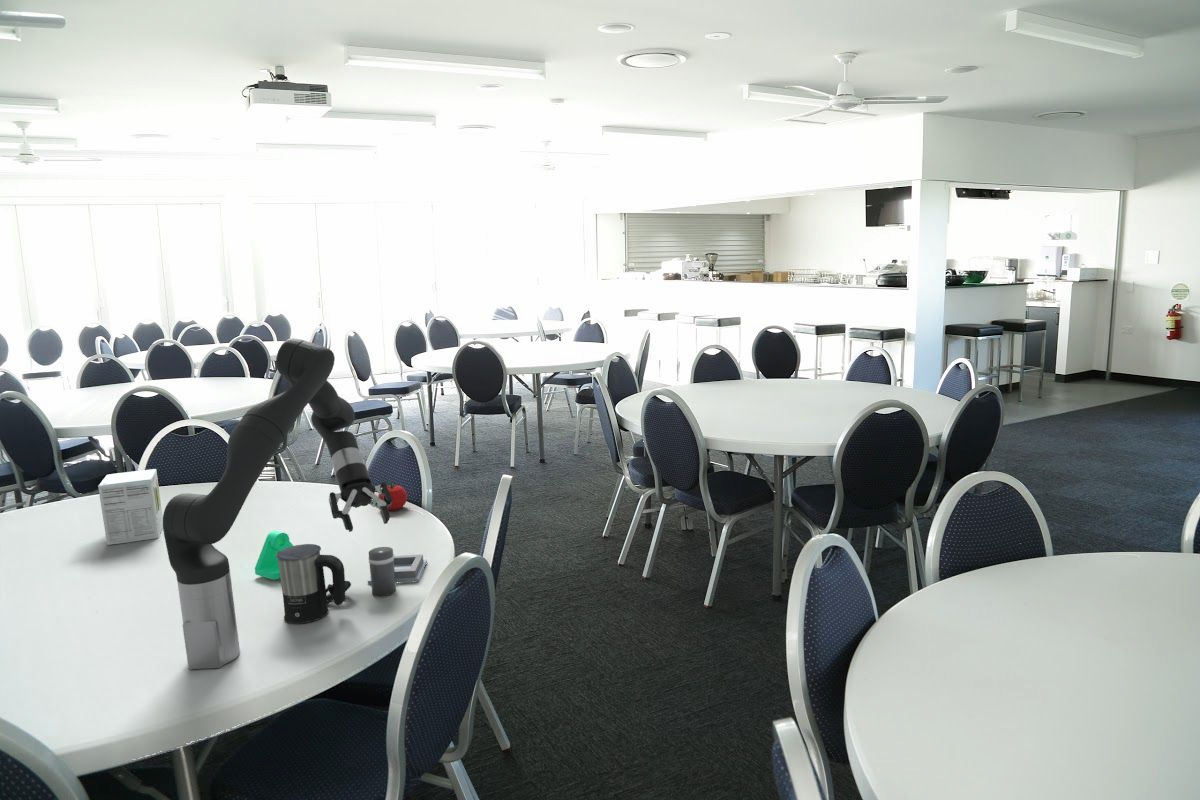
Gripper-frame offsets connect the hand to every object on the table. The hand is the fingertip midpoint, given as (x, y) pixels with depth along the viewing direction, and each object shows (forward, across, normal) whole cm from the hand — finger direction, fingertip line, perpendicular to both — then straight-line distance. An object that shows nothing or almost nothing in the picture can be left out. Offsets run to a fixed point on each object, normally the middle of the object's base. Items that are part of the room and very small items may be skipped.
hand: (368, 526), depth 194 cm
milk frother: (+16, +15, -3) cm, 22 cm away
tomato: (-26, -22, -45) cm, 56 cm away
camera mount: (-3, +17, -22) cm, 28 cm away
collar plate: (+10, -6, -9) cm, 14 cm away
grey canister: (+16, +1, -2) cm, 16 cm away
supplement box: (-44, +46, -62) cm, 89 cm away
